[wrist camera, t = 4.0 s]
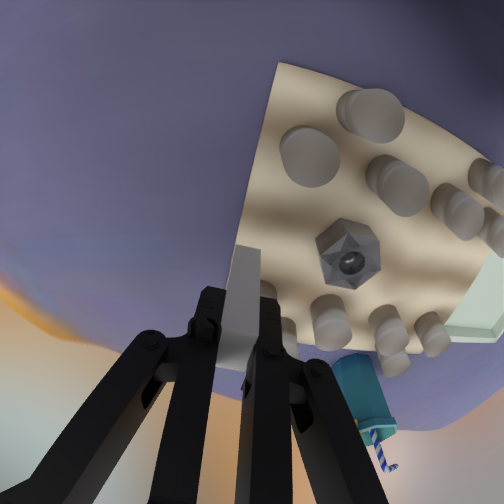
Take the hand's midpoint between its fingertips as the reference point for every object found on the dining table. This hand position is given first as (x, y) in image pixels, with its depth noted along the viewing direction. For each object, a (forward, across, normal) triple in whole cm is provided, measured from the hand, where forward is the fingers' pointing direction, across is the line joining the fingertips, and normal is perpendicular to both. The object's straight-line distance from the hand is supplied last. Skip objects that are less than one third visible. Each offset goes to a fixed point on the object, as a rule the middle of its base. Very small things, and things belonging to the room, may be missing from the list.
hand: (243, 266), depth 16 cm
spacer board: (+6, +12, 0) cm, 14 cm away
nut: (+5, +8, 0) cm, 9 cm away
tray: (+6, +33, 0) cm, 33 cm away
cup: (+6, +18, -16) cm, 25 cm away
